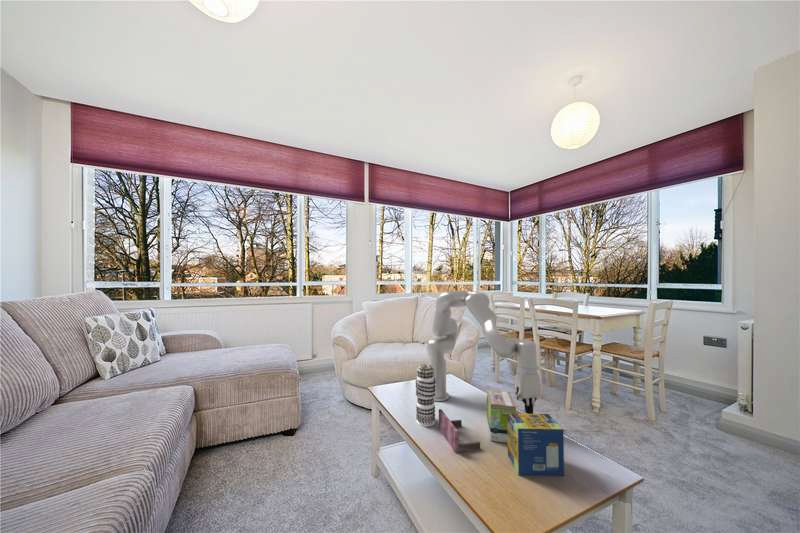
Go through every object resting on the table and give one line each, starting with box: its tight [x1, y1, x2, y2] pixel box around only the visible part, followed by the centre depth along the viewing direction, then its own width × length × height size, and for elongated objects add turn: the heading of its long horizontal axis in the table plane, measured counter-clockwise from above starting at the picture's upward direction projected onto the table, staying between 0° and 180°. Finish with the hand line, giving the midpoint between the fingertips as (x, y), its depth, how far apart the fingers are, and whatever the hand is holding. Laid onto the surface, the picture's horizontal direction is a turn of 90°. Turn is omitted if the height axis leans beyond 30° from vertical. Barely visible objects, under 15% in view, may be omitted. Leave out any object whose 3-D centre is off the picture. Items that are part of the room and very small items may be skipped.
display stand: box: [438, 408, 481, 454], centre depth 117 cm, size 18×10×8 cm, turn 12°
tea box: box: [486, 389, 517, 444], centre depth 121 cm, size 15×10×15 cm, turn 168°
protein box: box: [507, 413, 565, 477], centre depth 100 cm, size 10×15×16 cm
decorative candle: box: [415, 363, 436, 427], centre depth 131 cm, size 9×9×25 cm
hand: (529, 413), depth 124 cm, fingers closed
